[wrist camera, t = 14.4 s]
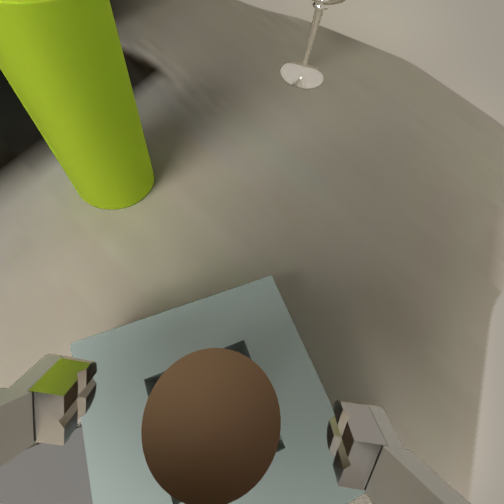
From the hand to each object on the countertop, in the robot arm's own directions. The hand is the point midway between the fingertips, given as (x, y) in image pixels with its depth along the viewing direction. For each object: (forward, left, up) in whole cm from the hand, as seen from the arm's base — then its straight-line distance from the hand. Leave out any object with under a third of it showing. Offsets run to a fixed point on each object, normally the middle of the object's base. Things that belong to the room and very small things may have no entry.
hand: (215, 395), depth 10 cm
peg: (+1, 0, -8) cm, 8 cm away
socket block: (+1, 0, -8) cm, 8 cm away
